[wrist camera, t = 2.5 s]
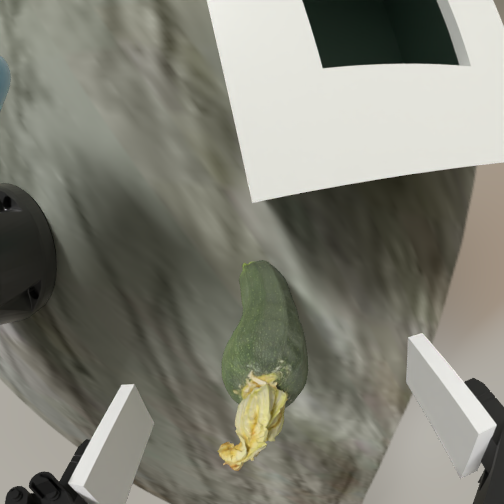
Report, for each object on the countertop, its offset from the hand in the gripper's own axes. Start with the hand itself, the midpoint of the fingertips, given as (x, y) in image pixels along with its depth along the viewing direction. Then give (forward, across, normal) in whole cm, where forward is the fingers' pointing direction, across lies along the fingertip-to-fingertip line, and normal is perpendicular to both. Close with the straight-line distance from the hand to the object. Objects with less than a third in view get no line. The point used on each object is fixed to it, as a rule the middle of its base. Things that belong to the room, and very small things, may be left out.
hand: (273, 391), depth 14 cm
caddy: (+15, +9, +16) cm, 24 cm away
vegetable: (+16, 0, 0) cm, 16 cm away
